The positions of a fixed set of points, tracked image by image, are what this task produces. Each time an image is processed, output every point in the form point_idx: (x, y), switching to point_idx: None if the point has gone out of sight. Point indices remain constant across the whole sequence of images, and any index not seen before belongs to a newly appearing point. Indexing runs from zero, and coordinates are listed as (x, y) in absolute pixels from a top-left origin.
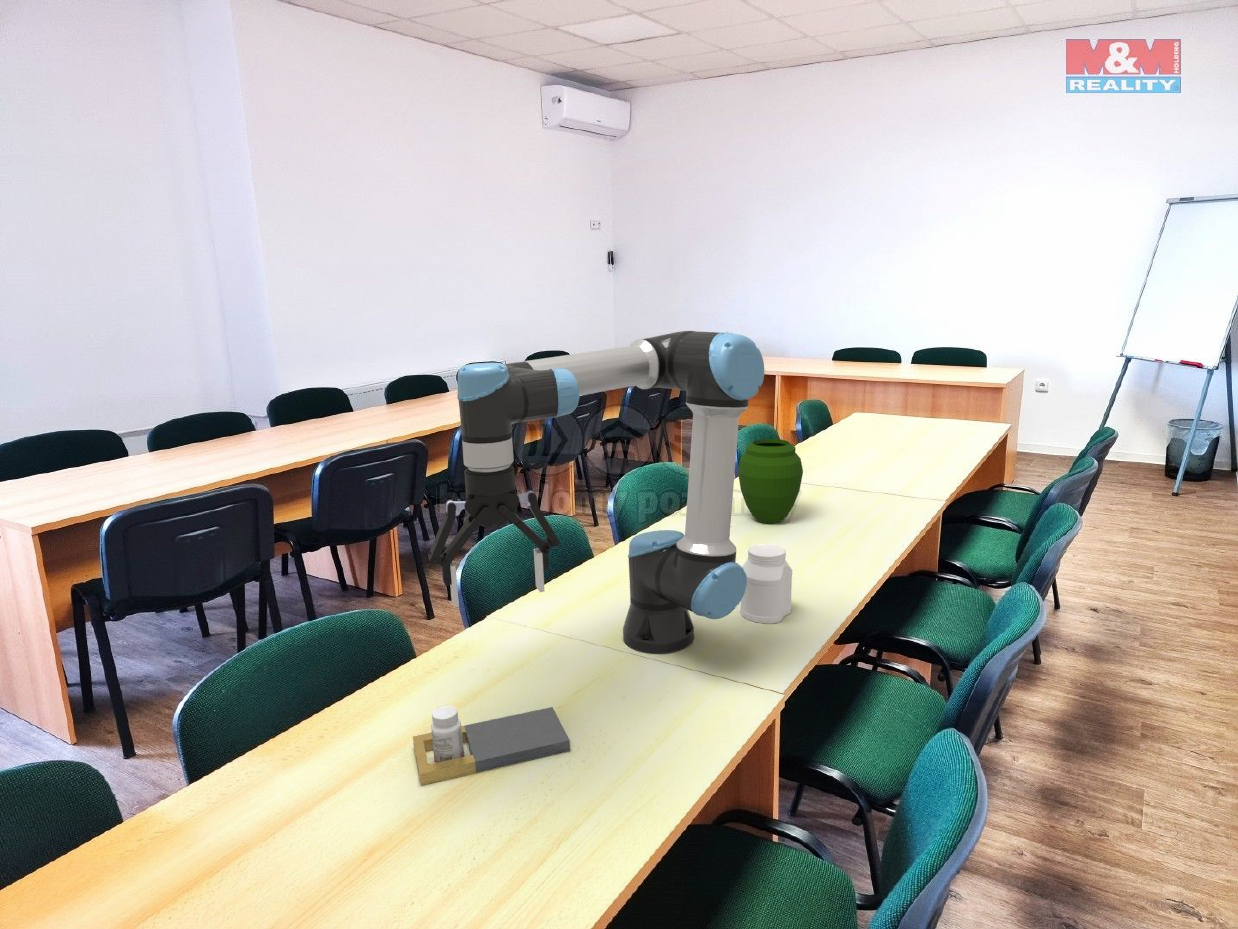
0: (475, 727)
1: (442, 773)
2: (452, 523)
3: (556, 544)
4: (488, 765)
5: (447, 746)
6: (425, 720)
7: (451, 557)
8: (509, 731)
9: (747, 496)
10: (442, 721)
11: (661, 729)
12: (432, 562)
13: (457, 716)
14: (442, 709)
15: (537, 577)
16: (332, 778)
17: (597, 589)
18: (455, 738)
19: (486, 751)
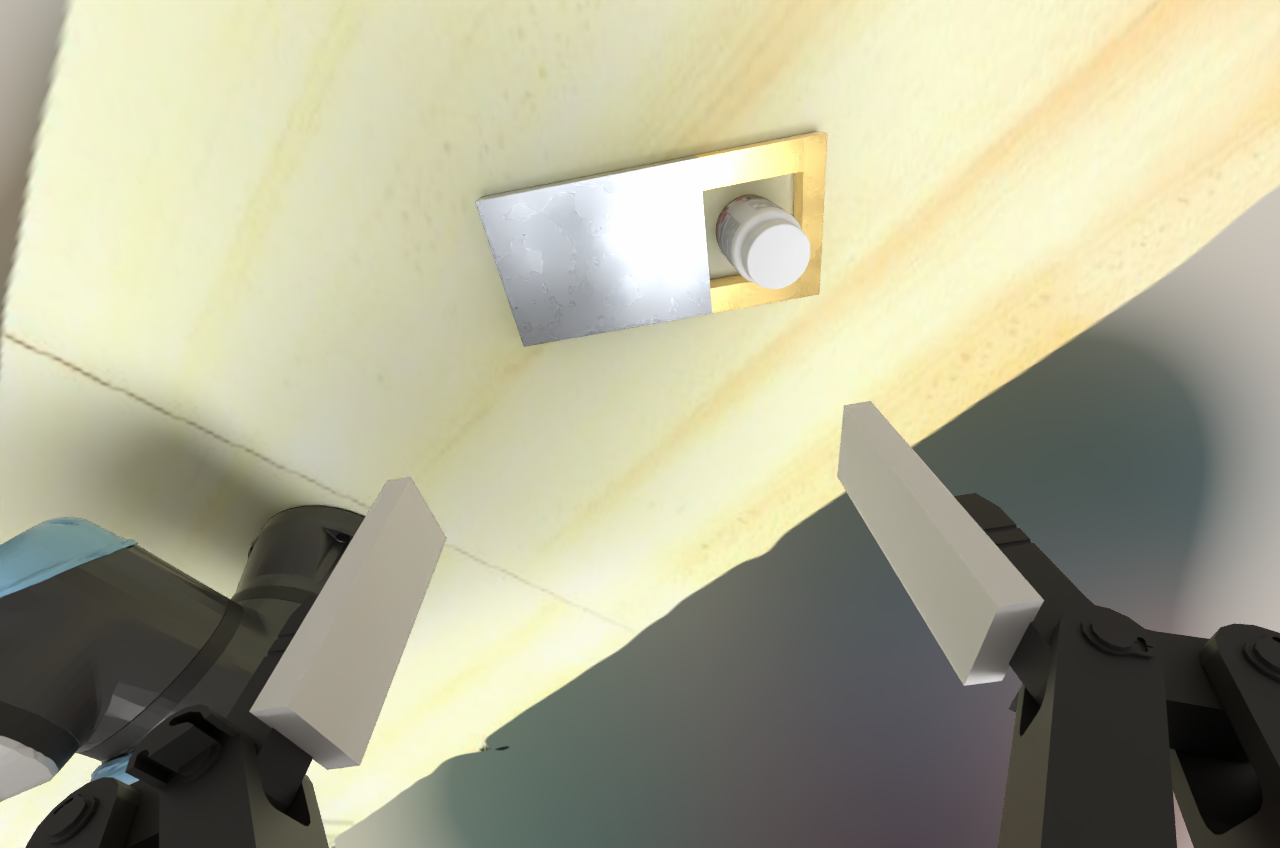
0: (689, 300)
1: (772, 142)
2: None
3: (78, 799)
4: (667, 162)
5: (762, 203)
6: (777, 373)
7: (1093, 693)
8: (617, 270)
9: None
10: (787, 223)
11: (271, 241)
12: (1275, 642)
13: (745, 248)
14: (782, 272)
15: (401, 558)
16: (981, 208)
17: (467, 682)
18: (745, 213)
19: (670, 197)
